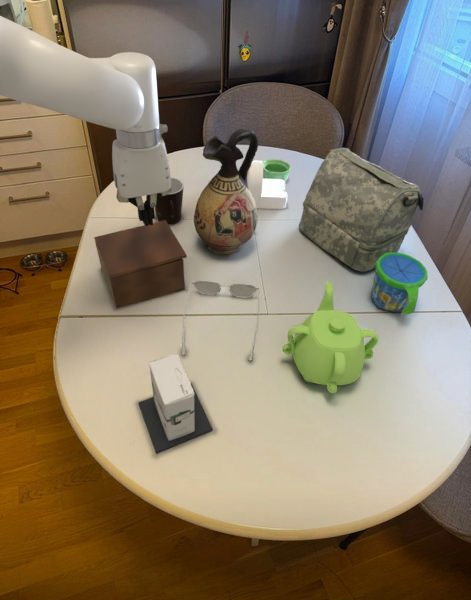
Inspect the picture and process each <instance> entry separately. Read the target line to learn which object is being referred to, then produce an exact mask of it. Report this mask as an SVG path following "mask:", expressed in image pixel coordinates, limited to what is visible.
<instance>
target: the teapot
mask: <svg viewBox="0 0 471 600" xmlns="http://www.w3.org/2000/svg"><path fill="white" fill-rule="evenodd" d="M293 336H294V337H293ZM364 338H370V339H369V340H368V342H367V343H366V344H365V341H364V340H365V339H364ZM287 341H288V342H287V343H284V344H283V345H282V352H283V354H285V355H287V356H292V357H293V360H294V363H295V366H296V368H297V370H298V371H299V373H300V374H301V375H302V378H303V380H304V381H306V382H307V383H313V384H318V385H323V386H326V389H327V391H328V392H329V393H331V394H336V393H338V386H345V385H349V384H353V383H354V382H356V381H357V380H358V379H359V378H360V377H361V375H362V372H363V369H364V366H365V361H367V360H371V359H372V358H374V354H375V352H374V348H375V347H376V346H377V344H378V342H379V336H378V333H377V332H376V331H375V330H374V329H369V328H362V329H361V328H360V326H359V324H358V321H357V319H356V318H355V317H354V316H353V315H351V314H350V313H348V312H345V311H341V310H335V307H334V287H333V284H332V282H331V281H329V280H328V281H326V282H325V286H324V295H323V297H322V300H321V302H320V304H319V306H318V308H317V311H315V312H314V313H312V314H311V315H309V316H308V317H307V318H305V320H303V322H302V323H301V324H298V325H294V326H291V327H290V328H289V330H288V331H287Z"/></svg>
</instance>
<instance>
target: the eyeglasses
mask: <svg viewBox="0 0 471 600" xmlns="http://www.w3.org/2000/svg"><path fill="white" fill-rule="evenodd" d="M192 285H193V286H194V288H195V289H196V291H197V293H198V294H201V295H208V296H209V295H211V296H213V295H214V296H215V295H216V294H217V293H220V291H221V287H226V288H227V287H228V291H229V294H232V295H233V296H234V297H236V298H242V299H243V298H245V299H247V298H251V297H253V295H254V294H255V293H256V292H257V293H258V294H260V292H261V291H260V290H261V288H260V287H259V286H256V285H254V284H250V283H232V284H230V285H228V284H226V283H224V284H220V283H219V282H217V281H213V280H205V279H201V280H200V279H198V280H195V281H190V283H189V290H188V294H187V297H186V300H185V304H187V302H188V298H189V295H190V291H191V288H192ZM186 308H187V305H185V306H184V310H183V316H182V317H183V319H182V345H181V354H182V356H186V346H185V319H186V316H185V313H186ZM259 314H260V308H258V312H257V319H259V318H260V317H259V316H260V315H259ZM258 326H259V320H257V321H256V325H255V330H254V335H253V341H252V345H251V349H250V352H249V357H248V361H249V362H251V361H253V356H254V349H255V348H254V347H255V343H256V342H255V341H256V336H257V331H258Z"/></svg>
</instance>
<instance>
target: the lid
mask: <svg viewBox="0 0 471 600" xmlns="http://www.w3.org/2000/svg"><path fill="white" fill-rule="evenodd" d="M93 238H94V243H95V242H96V243H95V245H96V244H97V247H98V249H99V252H100V255H101V257H102V260H103V262H104V265H105V267H106V270H107V273H108V275H109V278H113V277H117V276H121V275H124V274H128V273H132V272H135V271H139V270H143V269H146V268H150V267H154V266H157V265H161V264H165V263H168V262H172V261H176V260H179V259H183V260H184V259H187V257H188V256H187V253H186V251H185V250H184V248H183V246H182V245H181V243H180V241H179V240H178V238H177V236H176V235H175V233H174V232H173V230H172V228H171V227H170V225H168V223H167V222H166V220H164V221H160V222H159V221H156V222H153V225H148V226H145V225H144V224H143V225H139V226H135V227H131V228H127V229H121V230H118V231H114V232H110V233H106V234H102V235H97V236H94V237H93ZM97 247H96V248H97Z"/></svg>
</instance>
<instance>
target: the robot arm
mask: <svg viewBox="0 0 471 600" xmlns="http://www.w3.org/2000/svg"><path fill="white" fill-rule="evenodd" d="M0 96H3V97H6V98H8V99H11V100H13V101H17V102H20V103H24V104H27V105H31V106H36V107H39V108H43V109H46V110H49V111H53V112H56V113H59V114H63V115H65V116H69V117H72V118H74V119H78V120H81V121H84V122H88V123H90V124H94V125H98V126H102V127H104V128H108V129H113V130H115V134H116V135H115V136H116V139H113V141H112V149H111V151H112V152H111V156H112V157H111V160H112V161H111V162H112V173H113V183H114V186H115V188H116V196H115V197H116V199H117V202H118V203H123V204H125V203H126V204H127V203H130V204H131V205H133V206H134V207H136V208H137V216H138V220H139V222H142V223H143V225H145V226H148V225H153V223H154V219H156V212H155V206H156V203H157V202H158V201H159V199H160V198H161V197H162V196H165V195H167V194H170V193H171V188H170V186H171V169H170V163H169V157H168V151H167V147H166V143H165V141H164V139H163V137H162V135H163V134H164V133H168V131H169V130H168V126H167V124H166V123H165V124H163V123H160V113H159V98H158V97H159V96H158V81H157V69H156V64H155V61H154V60H153V59H152V58H151V57H150V56H149V55H147V54H144V53H142V52H134V51H126V52H125V51H124V52H118V53H115V54H113V55H111V56H109V57H88V56H85V55H83V54H81V53H78V52H76V51H74V50H72V49H69V48H67V47H66V46H63V45H61V44H59V43H57V42H55V41H52V40H50V39H48V37H47V38H46V37H45V36H44V35H41V34H40V33H37V32H36V31H34V30H32V29H29V28H27V27H25V26H23V25H22V24H19V23H17V22H15V21H12V20H10V19H9V18H6V17H4V16H2V15H0ZM144 196H145V200H143V197H144Z"/></svg>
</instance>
